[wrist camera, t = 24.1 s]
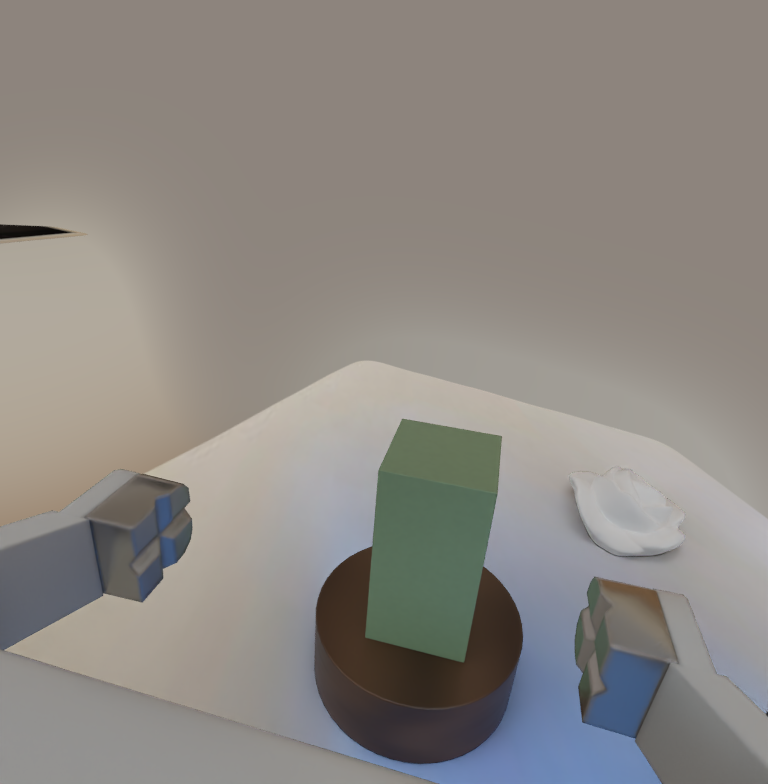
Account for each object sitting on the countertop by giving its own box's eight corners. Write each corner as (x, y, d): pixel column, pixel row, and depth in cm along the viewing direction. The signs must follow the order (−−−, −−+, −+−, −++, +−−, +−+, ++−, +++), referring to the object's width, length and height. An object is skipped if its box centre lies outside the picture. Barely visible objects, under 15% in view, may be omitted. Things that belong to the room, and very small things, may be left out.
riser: (282, 727, 26) (281, 672, 24) (347, 572, 36) (350, 525, 34) (507, 794, 24) (523, 739, 23) (511, 610, 34) (522, 562, 32)
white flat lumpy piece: (542, 458, 43) (614, 432, 48) (532, 503, 45) (603, 473, 50) (657, 530, 35) (728, 490, 40) (639, 580, 37) (709, 536, 42)
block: (364, 637, 27) (378, 470, 22) (387, 568, 31) (402, 418, 27) (464, 663, 26) (497, 493, 21) (472, 588, 30) (501, 435, 26)
